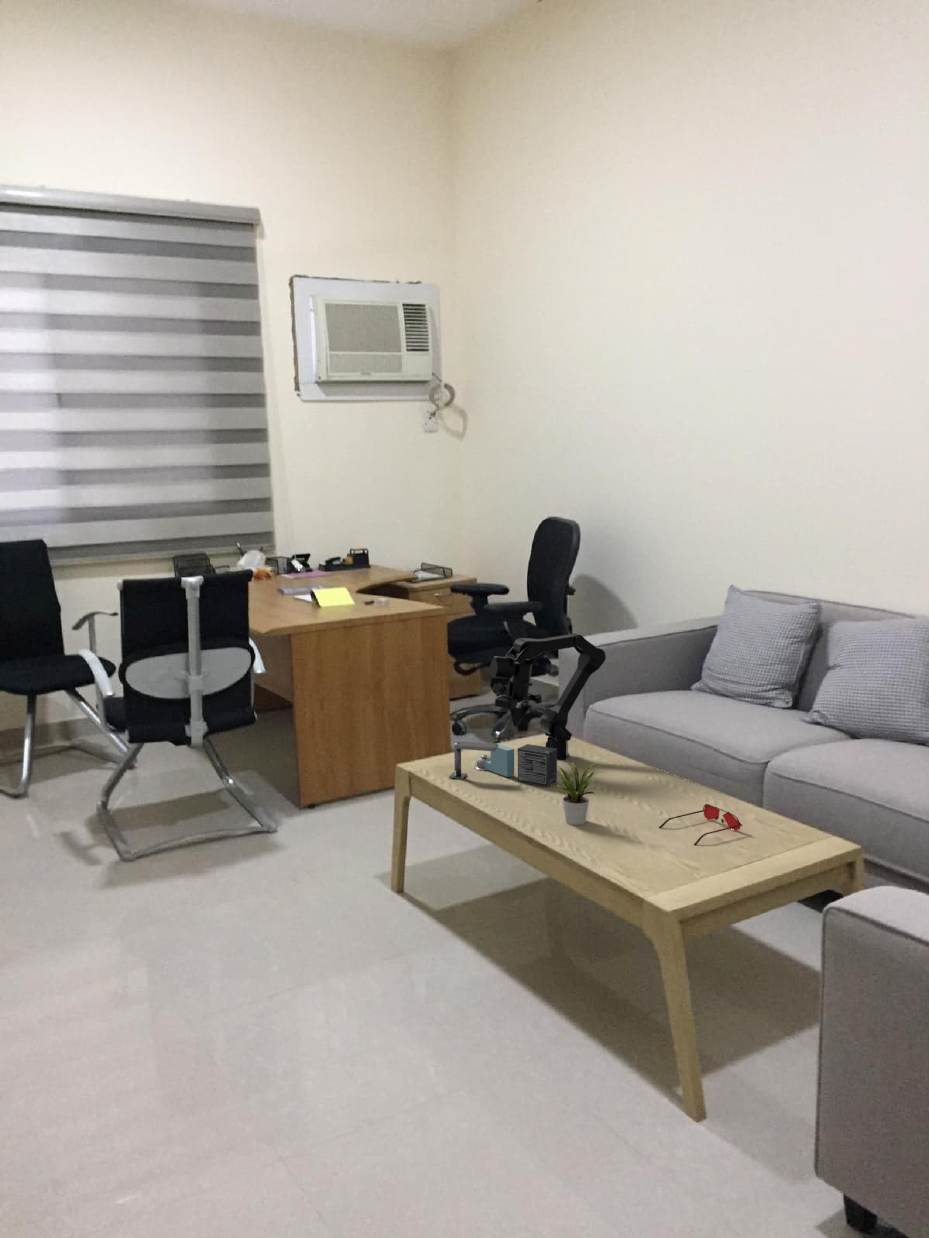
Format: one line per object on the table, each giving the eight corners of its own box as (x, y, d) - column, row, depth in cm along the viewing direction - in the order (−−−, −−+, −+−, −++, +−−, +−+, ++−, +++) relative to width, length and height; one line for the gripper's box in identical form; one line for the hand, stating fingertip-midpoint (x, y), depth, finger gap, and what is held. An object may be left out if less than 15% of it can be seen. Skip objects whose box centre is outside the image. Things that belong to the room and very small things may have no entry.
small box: (558, 781, 302) (558, 747, 300) (548, 787, 296) (548, 753, 295) (527, 776, 307) (527, 742, 306) (516, 781, 302) (516, 748, 300)
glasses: (743, 834, 259) (743, 816, 258) (694, 847, 251) (694, 827, 250) (705, 818, 271) (705, 800, 270) (657, 829, 263) (658, 811, 262)
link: (473, 765, 317) (473, 740, 315) (485, 762, 319) (485, 737, 318) (504, 777, 304) (504, 751, 303) (516, 774, 307) (516, 748, 306)
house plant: (610, 814, 273) (611, 756, 270) (603, 832, 260) (604, 772, 257) (558, 810, 277) (559, 753, 274) (549, 827, 264) (549, 767, 261)
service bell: (497, 764, 318) (497, 753, 318) (492, 771, 312) (492, 759, 311) (476, 763, 320) (476, 751, 320) (470, 769, 314) (470, 757, 313)
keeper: (498, 777, 306) (498, 743, 304) (494, 782, 301) (494, 748, 300) (453, 773, 310) (453, 740, 308) (448, 778, 305) (448, 744, 304)
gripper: (516, 670, 330) (511, 716, 332) (483, 676, 315) (478, 724, 317) (545, 677, 324) (539, 724, 326) (512, 683, 309) (506, 732, 311)
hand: (515, 726), depth 320 cm, fingers closed
